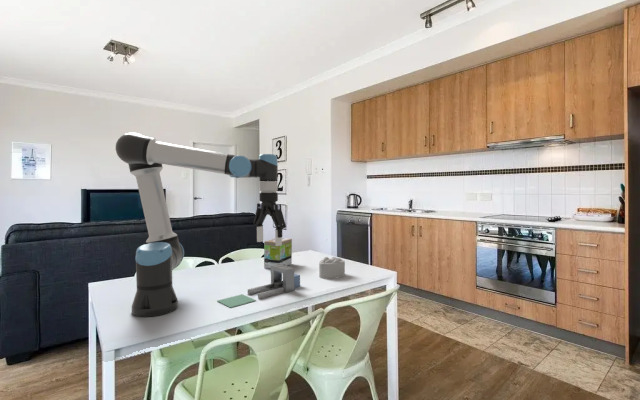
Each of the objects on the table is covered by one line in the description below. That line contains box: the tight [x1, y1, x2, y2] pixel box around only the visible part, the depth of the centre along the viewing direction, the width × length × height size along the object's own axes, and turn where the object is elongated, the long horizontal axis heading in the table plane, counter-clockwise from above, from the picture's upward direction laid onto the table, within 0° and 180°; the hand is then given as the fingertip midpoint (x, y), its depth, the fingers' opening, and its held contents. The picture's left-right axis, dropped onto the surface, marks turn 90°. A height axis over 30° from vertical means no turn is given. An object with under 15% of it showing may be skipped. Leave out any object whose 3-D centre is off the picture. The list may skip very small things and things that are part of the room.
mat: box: [217, 294, 257, 309], centre depth 132 cm, size 11×10×1 cm
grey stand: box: [247, 264, 295, 300], centre depth 143 cm, size 17×10×10 cm, turn 134°
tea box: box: [263, 237, 293, 270], centre depth 189 cm, size 15×10×15 cm
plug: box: [273, 272, 301, 289], centre depth 149 cm, size 12×4×5 cm, turn 134°
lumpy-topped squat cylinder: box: [318, 256, 346, 280], centre depth 169 cm, size 10×13×9 cm
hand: (269, 243), depth 142 cm, fingers open, 12 cm apart
